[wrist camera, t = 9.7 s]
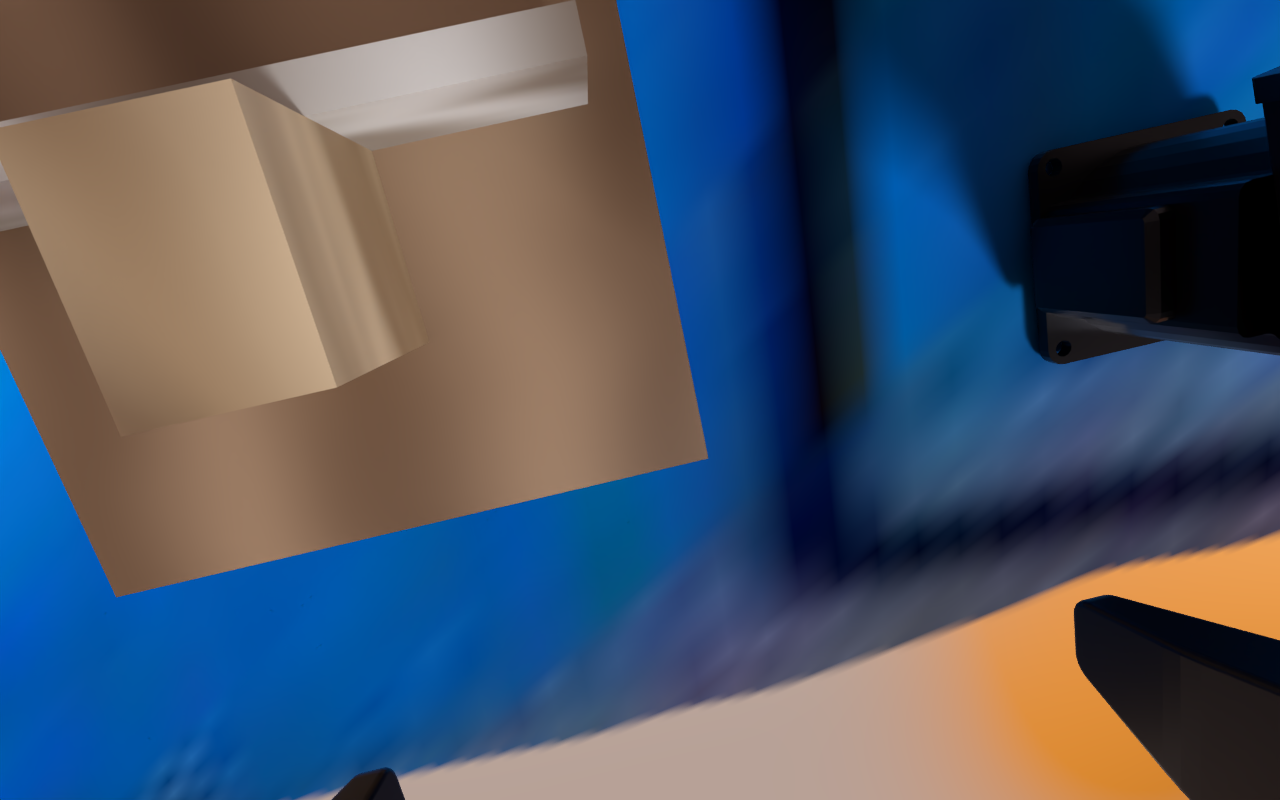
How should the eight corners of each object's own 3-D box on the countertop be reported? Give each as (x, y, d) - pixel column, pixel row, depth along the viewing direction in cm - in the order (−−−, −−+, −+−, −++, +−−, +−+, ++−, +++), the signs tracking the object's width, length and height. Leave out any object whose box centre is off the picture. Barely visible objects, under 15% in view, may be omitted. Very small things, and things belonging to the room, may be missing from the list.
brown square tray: (573, -95, 16) (565, -250, 11) (678, 408, 19) (708, 458, 14) (40, 15, 16) (-208, -96, 11) (238, 510, 19) (116, 597, 14)
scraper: (578, 61, 12) (571, -69, 7) (630, 296, 13) (652, 315, 9) (-18, 189, 12) (-431, 140, 7) (85, 420, 13) (-212, 512, 8)
